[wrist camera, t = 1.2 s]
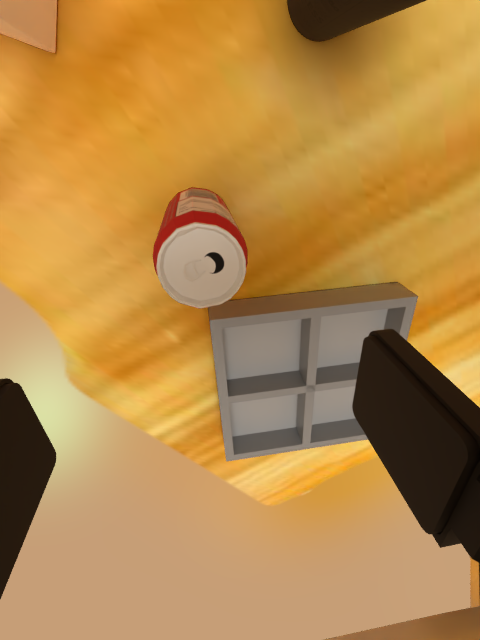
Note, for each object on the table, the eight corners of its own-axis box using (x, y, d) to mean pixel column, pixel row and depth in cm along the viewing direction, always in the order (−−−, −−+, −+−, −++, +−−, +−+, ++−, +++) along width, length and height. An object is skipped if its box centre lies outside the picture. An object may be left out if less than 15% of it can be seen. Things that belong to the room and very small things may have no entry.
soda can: (179, 259, 29) (173, 326, 19) (154, 199, 26) (131, 239, 16) (237, 240, 29) (263, 297, 18) (218, 177, 26) (236, 203, 16)
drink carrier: (397, 282, 33) (418, 296, 30) (368, 416, 43) (381, 437, 40) (207, 302, 31) (209, 320, 28) (223, 438, 42) (226, 461, 38)
